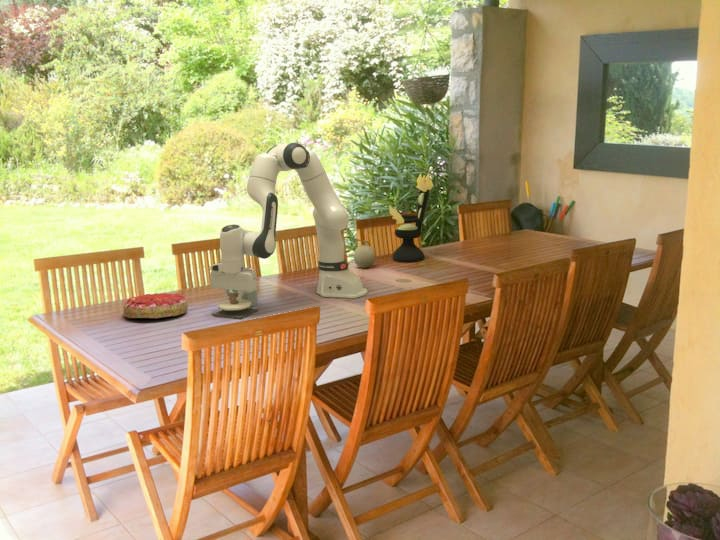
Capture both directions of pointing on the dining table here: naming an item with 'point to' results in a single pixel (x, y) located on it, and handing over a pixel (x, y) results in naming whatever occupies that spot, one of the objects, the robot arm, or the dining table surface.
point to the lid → (234, 303)
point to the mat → (235, 313)
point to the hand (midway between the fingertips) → (234, 300)
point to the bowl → (248, 296)
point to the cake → (155, 306)
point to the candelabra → (409, 231)
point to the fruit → (364, 255)
